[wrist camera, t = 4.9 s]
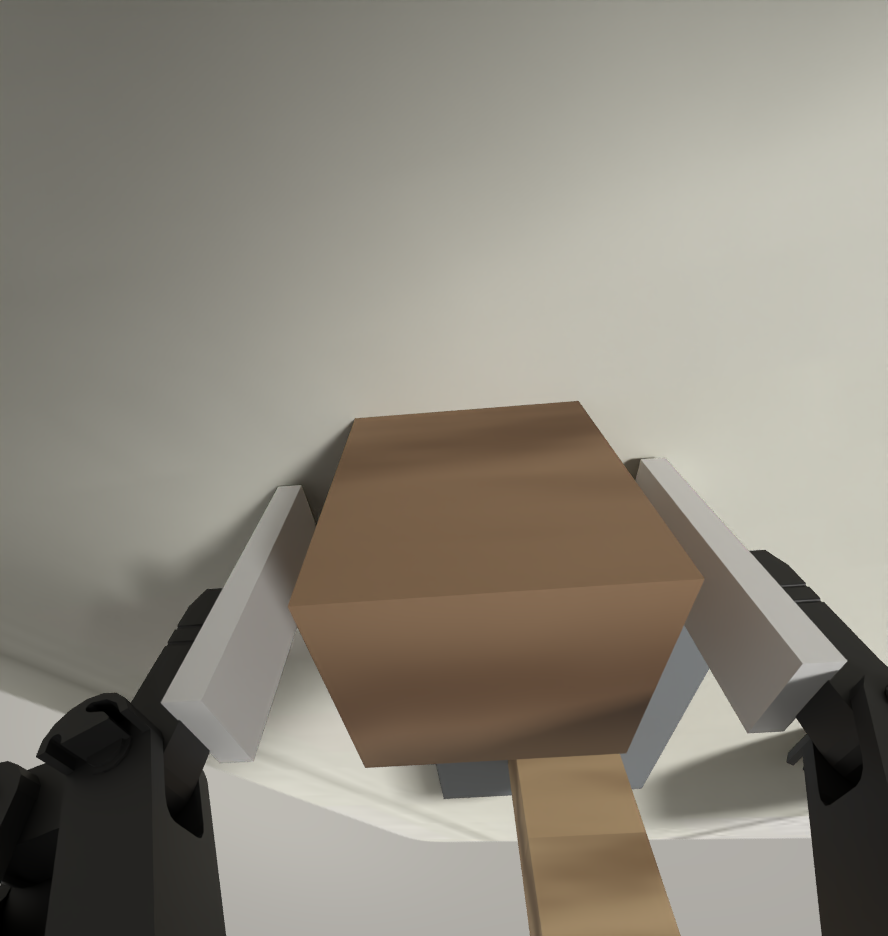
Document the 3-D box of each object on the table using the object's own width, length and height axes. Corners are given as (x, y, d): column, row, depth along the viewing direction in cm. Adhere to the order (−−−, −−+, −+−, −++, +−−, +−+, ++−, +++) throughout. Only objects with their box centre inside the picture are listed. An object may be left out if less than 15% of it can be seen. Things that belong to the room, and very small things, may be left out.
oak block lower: (509, 712, 21) (528, 838, 17) (604, 707, 21) (645, 832, 17) (507, 764, 25) (522, 876, 21) (587, 760, 25) (617, 872, 21)
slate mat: (401, 598, 16) (401, 607, 16) (750, 575, 16) (756, 583, 15) (443, 791, 29) (443, 798, 28) (639, 781, 28) (641, 788, 28)
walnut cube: (355, 417, 12) (286, 606, 6) (577, 399, 11) (704, 578, 6) (389, 567, 15) (365, 767, 10) (558, 556, 15) (626, 753, 10)
